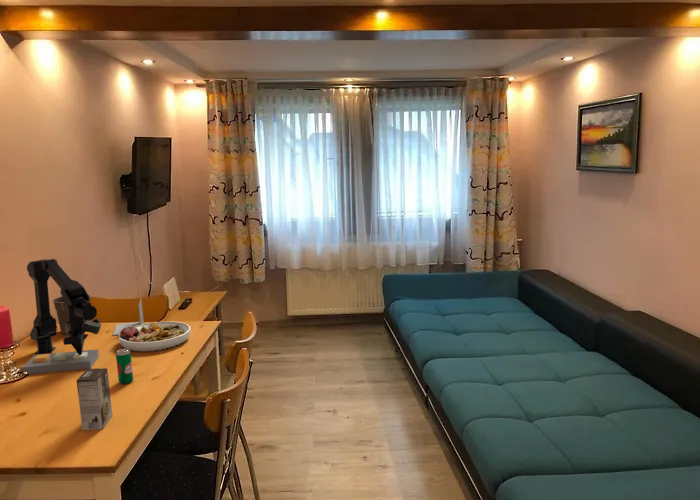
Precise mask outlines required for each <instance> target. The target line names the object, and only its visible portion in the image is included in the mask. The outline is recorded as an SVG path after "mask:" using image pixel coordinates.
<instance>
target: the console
mask: <svg viewBox="0 0 700 500" xmlns="http://www.w3.org/2000/svg"><path fill="white" fill-rule="evenodd" d="M63 352H64V351H63ZM63 352H61V353H63ZM68 352H69V357H68V359H67V360H57V361H54V356H55V355H56V353H57V352H54V353H53V352H51V353H49V354H50V359H49V360H48V361H46V362H34V358H35V357H36V356H37V355H38V354H34V355H32V357H31V358H30V359H29V360H28V361H27V362H26V363H25V364H24V365H23V366H22V373H23V372H27V373H28V375H38V374H47V373H59V372H68V371H79V370H87V369H92V367H93V366H94V364H95V363H96V361H97V359H99V357H100V354H99V349H86V350H85V349H83V351H82V352H88V356H87V357H86V358H79V359H73V356H74V355H75V354H76V353H77V352H76V350H75V351H68ZM39 355H41V354H39Z"/></svg>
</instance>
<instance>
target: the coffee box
mask: <svg viewBox="0 0 700 500" xmlns="http://www.w3.org/2000/svg"><path fill="white" fill-rule="evenodd" d="M76 388H77V389H76V390H77V395H78V396H77V397H78V405H79V413H80V414H79V415H80V422H81V423H80V424H81V429H82V430H81V431H93V430H94V431H96V430H104V428H106V425H108V424H107V423H109V421H110V419H112V417H113V408H112V399H111V389H110V382H109V373H108V368H107V367H106V368H104V367H103V368H100V367H99V368H97V367H96V368H95V367H94V368H91V369H85V371H83V373H82V374H81V375H80V376H79V377H78V378H77V379H76Z"/></svg>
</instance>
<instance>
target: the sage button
mask: <svg viewBox="0 0 700 500" xmlns="http://www.w3.org/2000/svg"><path fill="white" fill-rule="evenodd" d="M69 352H70V351H63V353H62V352H55V353H56V355H55V356H54V361H57V360H67V359H68V357H69Z"/></svg>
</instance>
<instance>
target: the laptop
mask: <svg viewBox="0 0 700 500" xmlns="http://www.w3.org/2000/svg"><path fill="white" fill-rule="evenodd" d="M137 310H138V321H134V322H124V323H123V322H122V323H117V324H116V326H115V328H114V331H113V333H112V336H119V334H120V332H121V331H122V330H123V329H124V328H128V327H130V326H138V325H142V324H144V312H143V301H142V297H140V299H139V303H138V305H137Z"/></svg>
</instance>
